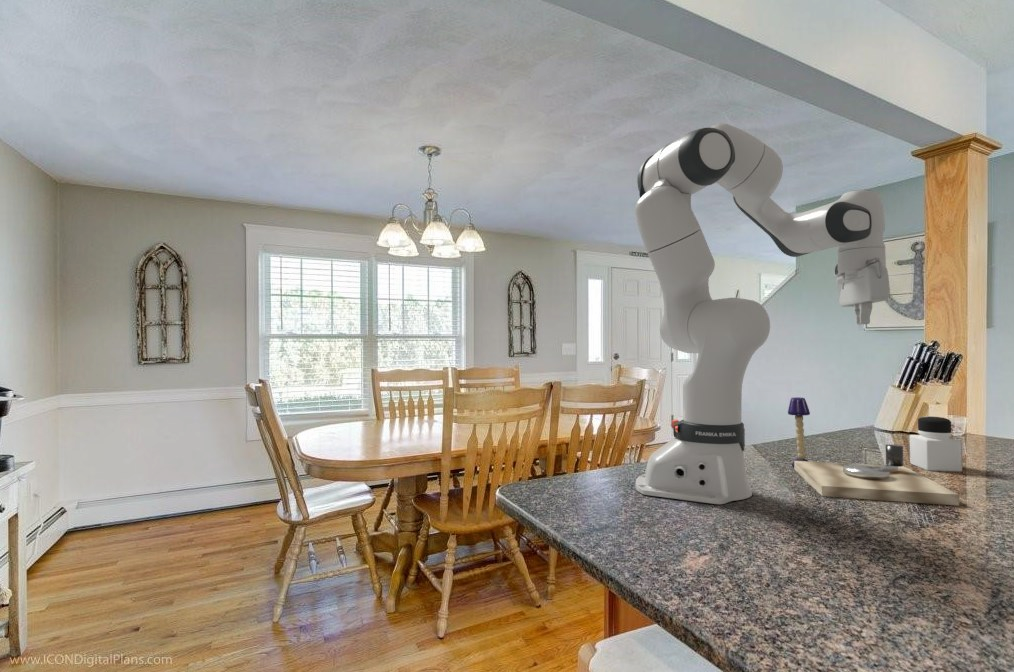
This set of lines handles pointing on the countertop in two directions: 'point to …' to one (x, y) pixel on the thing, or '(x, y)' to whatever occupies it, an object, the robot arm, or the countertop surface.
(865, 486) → the birch stand
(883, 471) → the silver disc with handle
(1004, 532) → the countertop surface
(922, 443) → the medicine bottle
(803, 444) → the toy lamp
